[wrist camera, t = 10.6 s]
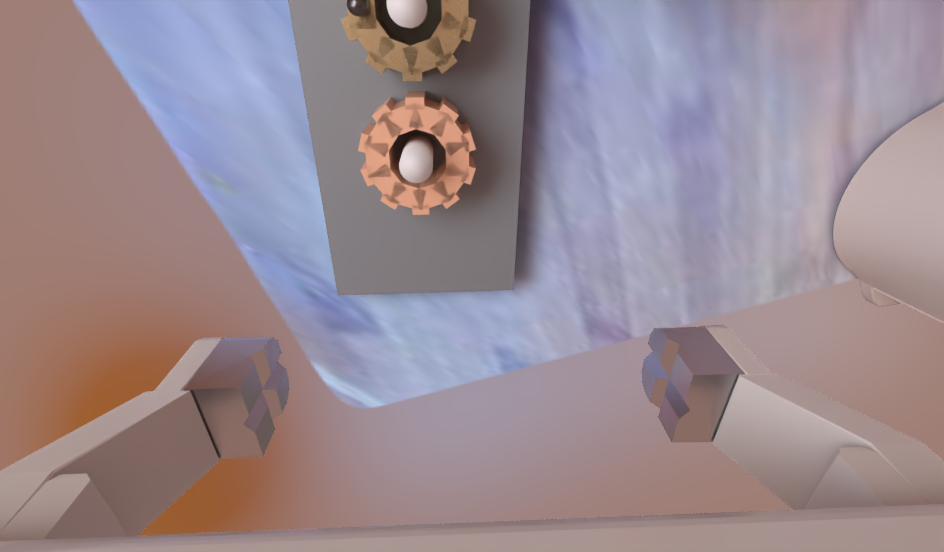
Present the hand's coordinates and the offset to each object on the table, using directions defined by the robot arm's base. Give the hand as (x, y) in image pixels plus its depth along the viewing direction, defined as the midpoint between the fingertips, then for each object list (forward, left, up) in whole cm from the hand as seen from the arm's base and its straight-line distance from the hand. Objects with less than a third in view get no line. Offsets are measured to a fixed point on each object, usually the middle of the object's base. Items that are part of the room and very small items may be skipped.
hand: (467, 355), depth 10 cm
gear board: (+2, 0, -23) cm, 23 cm away
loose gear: (+2, 0, -21) cm, 21 cm away
